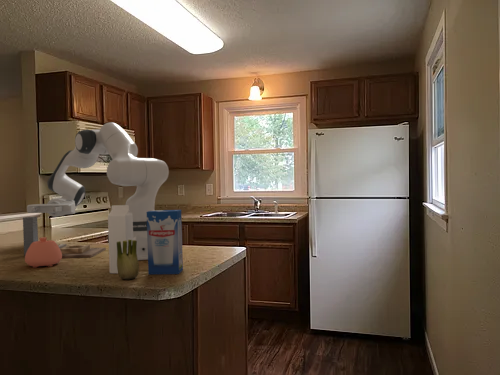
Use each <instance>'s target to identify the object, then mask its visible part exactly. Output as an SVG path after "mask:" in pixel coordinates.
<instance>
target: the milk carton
mask: <svg viewBox="0 0 500 375" xmlns="http://www.w3.org/2000/svg"><path fill="white" fill-rule="evenodd" d="M182 221H183V220H182V209H163V210H162V209H161V210H160V209H159V210H157V209H156V210H152V211H148V212H147V243H148V260H147V272H148V275H180V274H181V272H183V270H184V261H183V259H184V257H183V231H182V230H183V224H182V223H183V222H182Z"/></svg>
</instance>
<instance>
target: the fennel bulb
mask: <svg viewBox="0 0 500 375" xmlns="http://www.w3.org/2000/svg"><path fill="white" fill-rule="evenodd" d="M131 244H132V245H131ZM136 247H137V241H136V240H130V239H129V240H128V254H127V241H126V240H125V241H123V253H122V248H121V241H118V242H117V269H118V273H117V274H118V275H119V278H120V279H123V280H126V281H127V280H134V279H135V278H137V277H138V275H139V271H140V268H139V267H140V266H139V260H138V259H137V253H136Z"/></svg>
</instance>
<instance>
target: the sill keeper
mask: <svg viewBox="0 0 500 375" xmlns="http://www.w3.org/2000/svg"><path fill="white" fill-rule="evenodd" d="M57 245H58V244H57ZM58 247H59V248H60V250H61V253H62V259H70V258H71V259H74V258H75V259H79V258H93V257H95V256H97V255H99V254H100V253H103V252H104V251H106V249H107V248H106V247H91V244H79V245H78V244H74V245H73V244H72V245H71V244H70V245H69V244H68V245H67V243H61V244H59V245H58Z"/></svg>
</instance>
